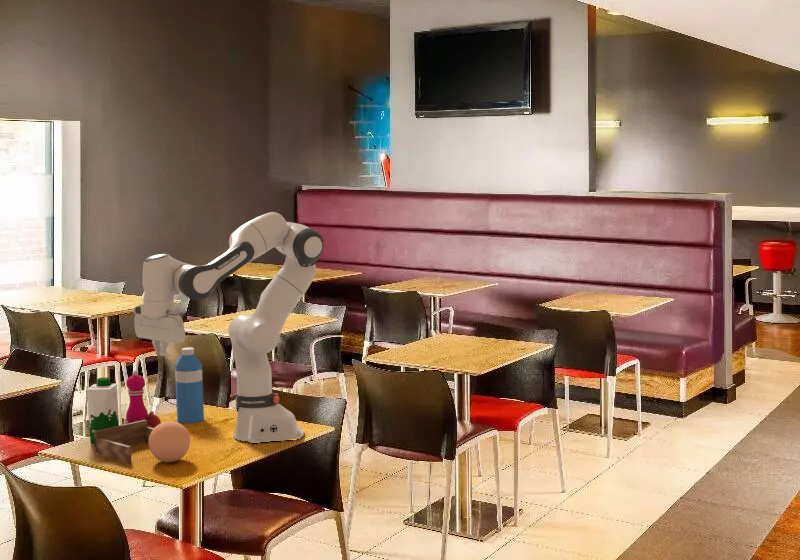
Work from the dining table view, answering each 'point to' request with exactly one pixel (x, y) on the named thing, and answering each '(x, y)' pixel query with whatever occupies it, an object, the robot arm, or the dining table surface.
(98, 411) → the milk carton
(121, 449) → the corral
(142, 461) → the dining table surface
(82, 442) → the dining table surface
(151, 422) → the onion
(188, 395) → the water bottle
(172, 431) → the rubber ball
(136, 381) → the pepper mill
